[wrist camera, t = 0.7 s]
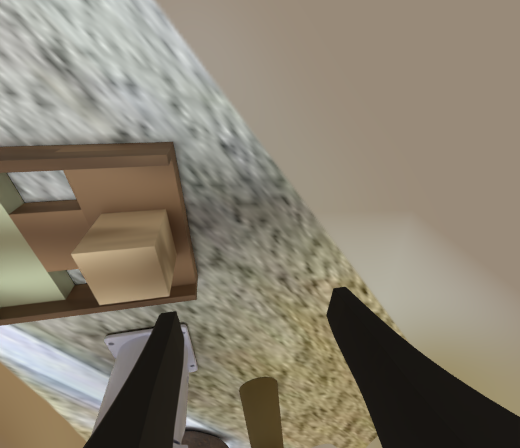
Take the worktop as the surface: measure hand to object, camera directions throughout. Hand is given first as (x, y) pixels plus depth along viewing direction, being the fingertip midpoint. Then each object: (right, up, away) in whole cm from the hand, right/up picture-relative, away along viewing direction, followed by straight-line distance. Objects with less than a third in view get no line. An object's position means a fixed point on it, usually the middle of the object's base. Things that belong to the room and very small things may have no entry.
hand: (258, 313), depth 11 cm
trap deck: (-13, +4, +6) cm, 15 cm away
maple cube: (-8, +3, +6) cm, 11 cm away
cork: (0, -21, +26) cm, 33 cm away
